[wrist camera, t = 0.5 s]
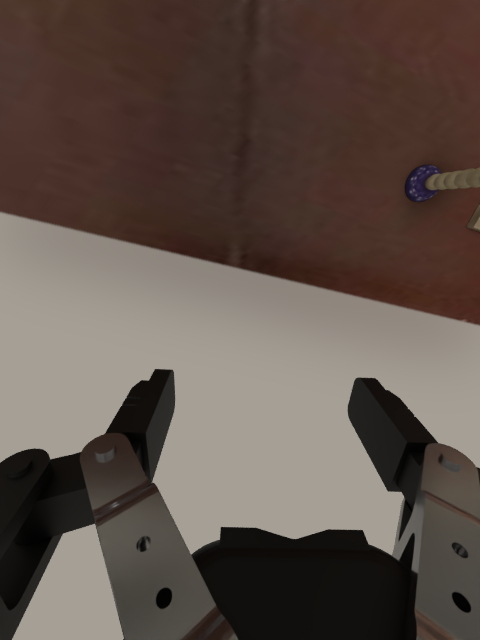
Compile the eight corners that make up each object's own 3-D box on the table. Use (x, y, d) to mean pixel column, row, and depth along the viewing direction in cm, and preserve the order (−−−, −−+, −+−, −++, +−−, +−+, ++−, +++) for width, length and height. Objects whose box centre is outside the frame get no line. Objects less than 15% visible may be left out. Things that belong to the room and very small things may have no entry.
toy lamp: (445, 190, 34) (617, 170, 19) (412, 214, 36) (549, 215, 20) (429, 157, 33) (601, 106, 18) (395, 183, 34) (529, 157, 19)
